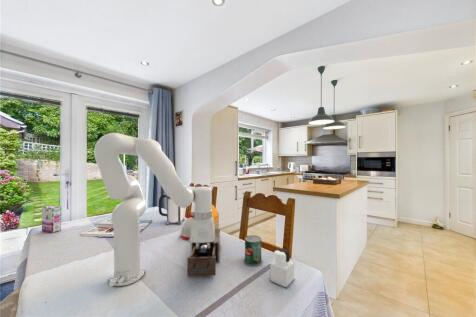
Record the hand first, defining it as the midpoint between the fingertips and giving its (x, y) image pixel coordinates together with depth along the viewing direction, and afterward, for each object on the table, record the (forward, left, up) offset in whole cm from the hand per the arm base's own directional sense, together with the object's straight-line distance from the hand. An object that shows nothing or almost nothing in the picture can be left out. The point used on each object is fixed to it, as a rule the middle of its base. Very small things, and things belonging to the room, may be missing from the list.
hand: (203, 256), depth 88 cm
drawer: (0, 0, -5) cm, 5 cm away
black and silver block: (+2, 0, 0) cm, 2 cm away
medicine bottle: (-8, -33, -7) cm, 35 cm away
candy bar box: (+52, +109, -7) cm, 121 cm away
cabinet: (+16, 0, -6) cm, 17 cm away
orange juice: (+35, 0, -7) cm, 35 cm away
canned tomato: (+7, -23, -7) cm, 25 cm away
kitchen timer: (+40, +12, -7) cm, 42 cm away
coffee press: (+66, +31, -7) cm, 73 cm away
